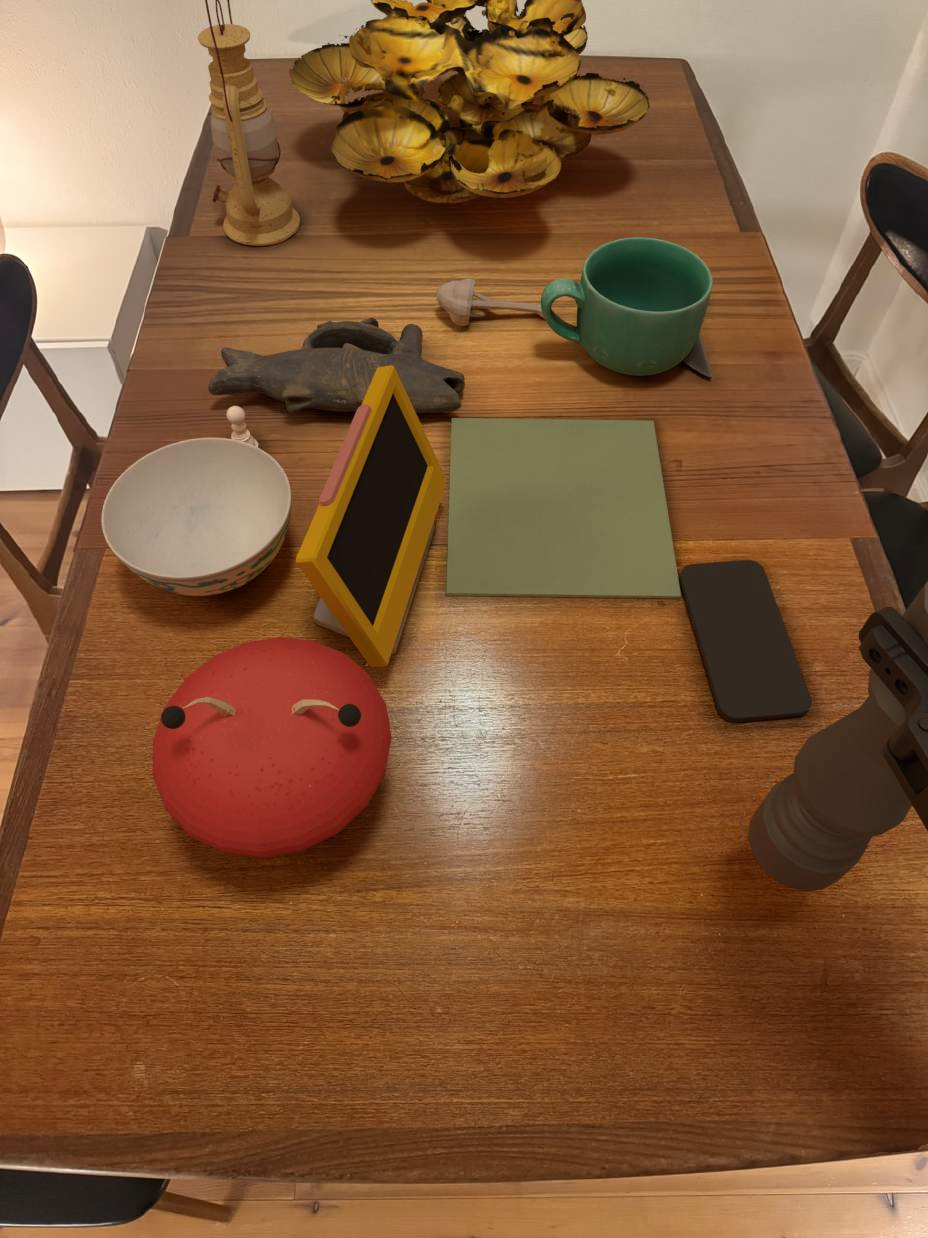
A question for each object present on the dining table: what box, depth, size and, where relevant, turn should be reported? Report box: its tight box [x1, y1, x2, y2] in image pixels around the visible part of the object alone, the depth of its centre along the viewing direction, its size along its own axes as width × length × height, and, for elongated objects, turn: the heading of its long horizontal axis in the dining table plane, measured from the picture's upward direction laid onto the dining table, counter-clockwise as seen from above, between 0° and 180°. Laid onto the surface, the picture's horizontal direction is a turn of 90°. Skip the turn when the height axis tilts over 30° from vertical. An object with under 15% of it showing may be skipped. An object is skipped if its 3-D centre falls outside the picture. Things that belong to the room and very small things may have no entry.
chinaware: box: [100, 437, 293, 597], centre depth 73 cm, size 15×15×8 cm
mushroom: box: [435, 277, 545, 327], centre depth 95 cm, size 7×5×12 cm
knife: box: [682, 331, 713, 379], centre depth 94 cm, size 14×4×1 cm, turn 1°
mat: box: [445, 417, 682, 600], centre depth 80 cm, size 20×22×1 cm
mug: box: [540, 236, 713, 377], centre depth 89 cm, size 17×13×10 cm
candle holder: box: [747, 580, 928, 892], centre depth 44 cm, size 6×6×25 cm
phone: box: [679, 559, 812, 723], centre depth 72 cm, size 7×1×15 cm
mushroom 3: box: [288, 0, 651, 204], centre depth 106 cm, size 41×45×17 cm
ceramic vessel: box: [207, 317, 466, 414], centre depth 88 cm, size 5×25×15 cm
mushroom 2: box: [152, 636, 393, 859], centre depth 58 cm, size 16×16×15 cm
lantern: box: [197, 0, 301, 247], centre depth 94 cm, size 12×10×30 cm
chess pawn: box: [225, 405, 259, 448], centre depth 82 cm, size 3×3×5 cm
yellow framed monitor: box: [295, 365, 448, 668], centre depth 69 cm, size 20×8×16 cm, turn 167°
